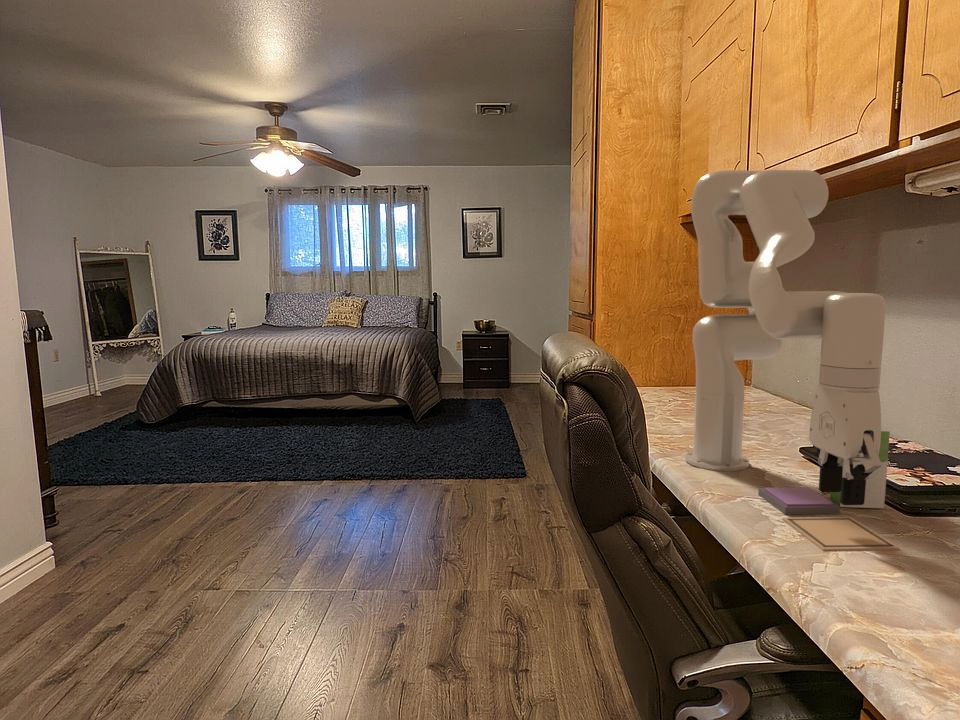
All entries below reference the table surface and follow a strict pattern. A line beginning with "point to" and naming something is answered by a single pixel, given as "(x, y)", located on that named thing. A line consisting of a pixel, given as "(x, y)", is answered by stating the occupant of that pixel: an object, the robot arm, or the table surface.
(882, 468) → the ink box
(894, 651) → the table surface
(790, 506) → the ink pad
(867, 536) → the marked card
